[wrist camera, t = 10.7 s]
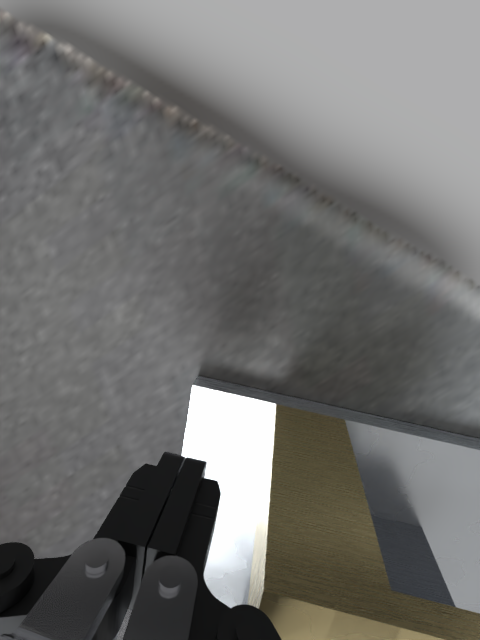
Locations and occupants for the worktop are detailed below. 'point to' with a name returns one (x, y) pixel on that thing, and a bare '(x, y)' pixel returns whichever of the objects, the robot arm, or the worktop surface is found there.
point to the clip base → (378, 482)
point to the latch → (330, 546)
